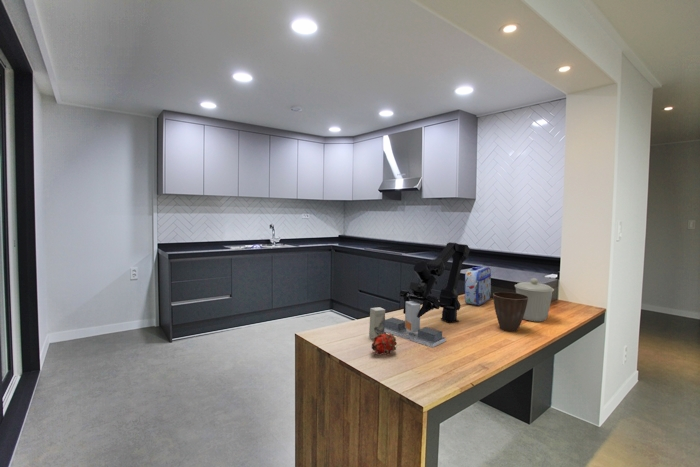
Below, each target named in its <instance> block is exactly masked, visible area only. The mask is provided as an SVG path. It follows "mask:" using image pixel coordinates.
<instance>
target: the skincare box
mask: <svg viewBox="0 0 700 467" xmlns="http://www.w3.org/2000/svg"><path fill="white" fill-rule="evenodd" d="M420 309H421V303H419V302H417V301H416V300H412V301H406V307H405V314H404V316H405V317H404V321H405V328H406V329H408V330H409V331H410V332H418V330H419V329H421V317H419V318H418V317H417V316H418V313H419V311H420Z"/></svg>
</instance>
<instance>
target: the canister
mask: <svg viewBox="0 0 700 467" xmlns="http://www.w3.org/2000/svg"><path fill="white" fill-rule="evenodd" d="M514 288H515V293H518V294H523V295H526V296H527V297H528V301H527V306H526V310H525V314H524V317H523V319H522V320H525V321H530V322H544V321H546V320H547V319H548V316H549V313H550V312H549V311H550V307H551V302H552V297H553V292H554V291H555V289H554V288H553V287H551V286H550V285H548V284H544V283H540V282H539V280H538V279H537V278H535V277H533V278H531V279H530V280H529V281H523V282H518V283H517V284H516V283H515V284H514Z"/></svg>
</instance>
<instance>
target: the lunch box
mask: <svg viewBox="0 0 700 467" xmlns="http://www.w3.org/2000/svg"><path fill="white" fill-rule="evenodd" d="M491 279H492V272H491V268H490V267H484V266H476V267H474V266H472V268H469V269H467V271H466V272H465V274H464V302H465V304H470V305H474V306H481V305H483V304H485V303H486V302H487V301H489V300H490V299H491V294H492V291H491V290H492V285H491V284H492V283H491V282H492V281H491Z"/></svg>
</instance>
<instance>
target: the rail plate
mask: <svg viewBox="0 0 700 467" xmlns="http://www.w3.org/2000/svg"><path fill="white" fill-rule="evenodd" d="M384 332H386V334H393V336H395V337H399V338H402V339H405V340H408V341H412V342H415V343H418V344H421V345H424V346H426V347H430V348H435V347H437V346H439V345H441V344H443V343H445V342H446V340H447V338H446V337H444V336H443V331H441V330H438V329H435V328H431V327H427V326H424V327H422V328H420V329H419V330H418V332H410V331H409V330H408V329H406V328H405V320H404V319H399V318H396V317H388V318H385V329H384Z"/></svg>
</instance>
